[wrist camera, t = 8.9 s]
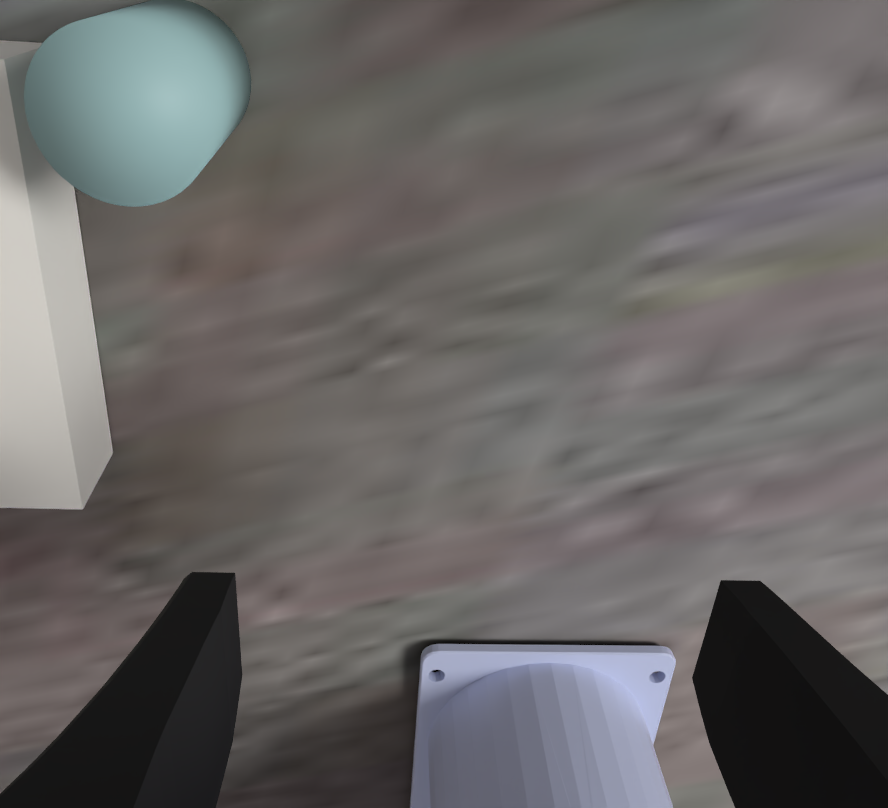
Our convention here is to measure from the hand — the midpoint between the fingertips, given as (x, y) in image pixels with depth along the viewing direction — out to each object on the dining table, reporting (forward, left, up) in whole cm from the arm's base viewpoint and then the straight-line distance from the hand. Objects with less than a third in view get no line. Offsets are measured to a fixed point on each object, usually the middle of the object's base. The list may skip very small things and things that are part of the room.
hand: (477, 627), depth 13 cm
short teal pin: (+6, +6, -10) cm, 13 cm away
